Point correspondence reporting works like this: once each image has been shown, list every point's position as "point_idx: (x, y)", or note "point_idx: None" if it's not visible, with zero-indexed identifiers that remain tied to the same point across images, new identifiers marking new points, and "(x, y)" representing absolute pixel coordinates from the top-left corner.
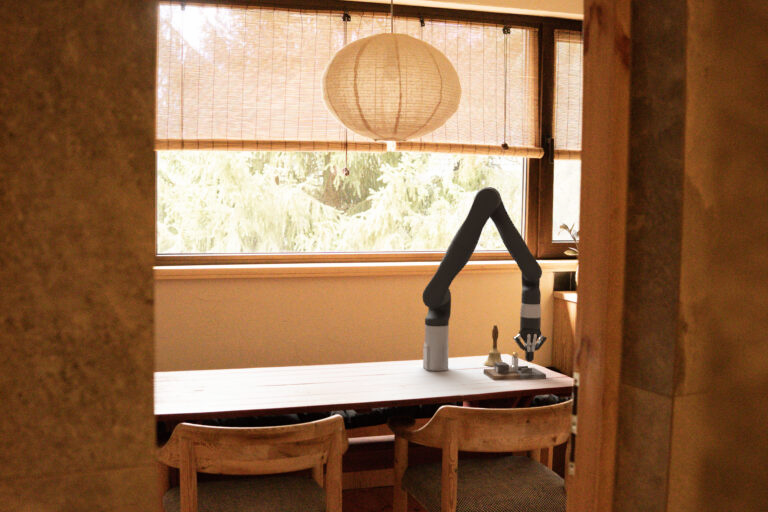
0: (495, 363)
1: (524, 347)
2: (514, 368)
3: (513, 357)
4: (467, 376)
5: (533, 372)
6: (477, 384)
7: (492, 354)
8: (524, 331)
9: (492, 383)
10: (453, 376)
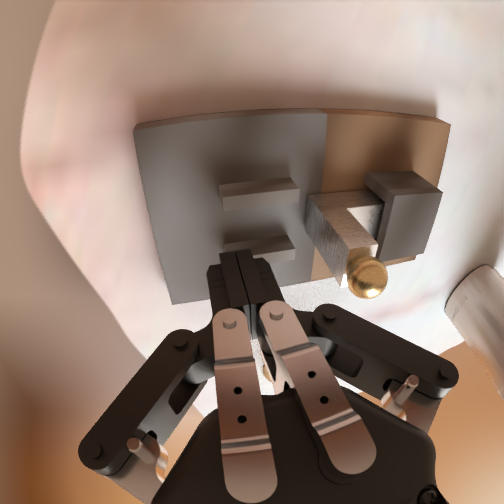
0: (426, 240)
1: (332, 327)
2: (339, 202)
3: (374, 255)
4: (471, 199)
5: (208, 186)
6: (498, 74)
7: None
8: (407, 482)
9: (460, 65)
10: (494, 203)
